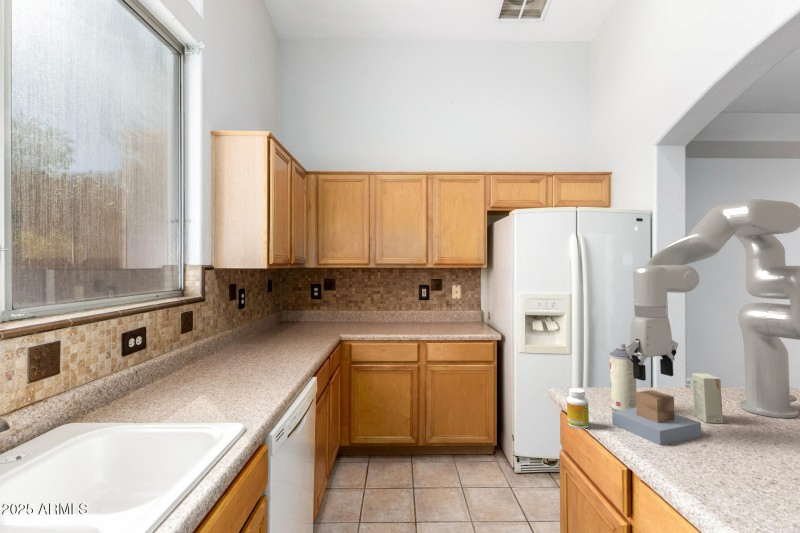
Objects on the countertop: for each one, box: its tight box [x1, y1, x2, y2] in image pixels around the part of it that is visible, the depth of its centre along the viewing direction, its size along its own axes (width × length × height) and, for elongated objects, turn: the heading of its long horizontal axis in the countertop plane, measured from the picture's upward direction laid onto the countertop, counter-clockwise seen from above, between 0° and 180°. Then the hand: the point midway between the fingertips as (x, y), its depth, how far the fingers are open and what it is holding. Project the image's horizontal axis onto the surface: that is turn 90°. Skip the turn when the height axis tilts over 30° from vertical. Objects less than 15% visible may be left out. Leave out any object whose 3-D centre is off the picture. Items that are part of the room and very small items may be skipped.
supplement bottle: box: [566, 387, 590, 430], centre depth 108 cm, size 5×5×10 cm
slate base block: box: [611, 408, 702, 446], centre depth 104 cm, size 14×14×4 cm
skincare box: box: [691, 372, 724, 424], centre depth 110 cm, size 6×4×12 cm
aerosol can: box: [609, 343, 638, 412], centre depth 119 cm, size 7×7×20 cm
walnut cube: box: [636, 389, 675, 423], centre depth 104 cm, size 6×6×6 cm
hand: (653, 377), depth 104 cm, fingers open, 9 cm apart
